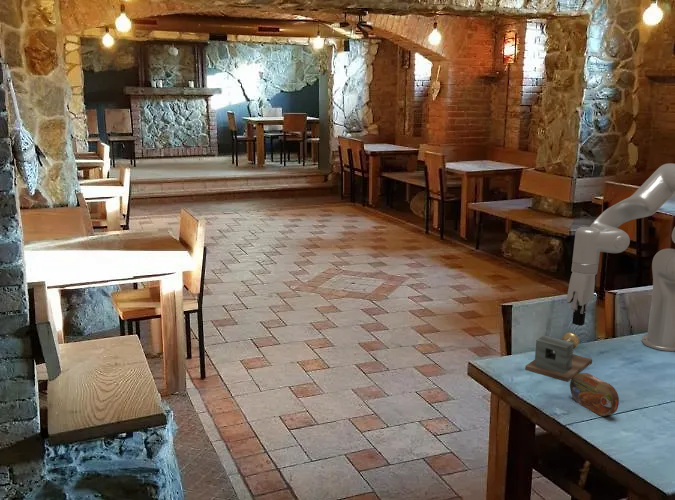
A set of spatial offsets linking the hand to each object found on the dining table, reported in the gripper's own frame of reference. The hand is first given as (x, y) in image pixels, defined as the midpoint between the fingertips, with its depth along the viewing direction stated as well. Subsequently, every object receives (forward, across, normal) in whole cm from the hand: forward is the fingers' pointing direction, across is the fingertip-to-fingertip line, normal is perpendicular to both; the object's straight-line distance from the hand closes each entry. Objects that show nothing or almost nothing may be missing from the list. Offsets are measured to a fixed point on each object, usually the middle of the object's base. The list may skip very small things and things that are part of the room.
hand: (578, 324), depth 211 cm
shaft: (+6, +12, +1) cm, 13 cm away
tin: (+10, +33, +19) cm, 39 cm away
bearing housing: (+10, +12, +1) cm, 16 cm away
